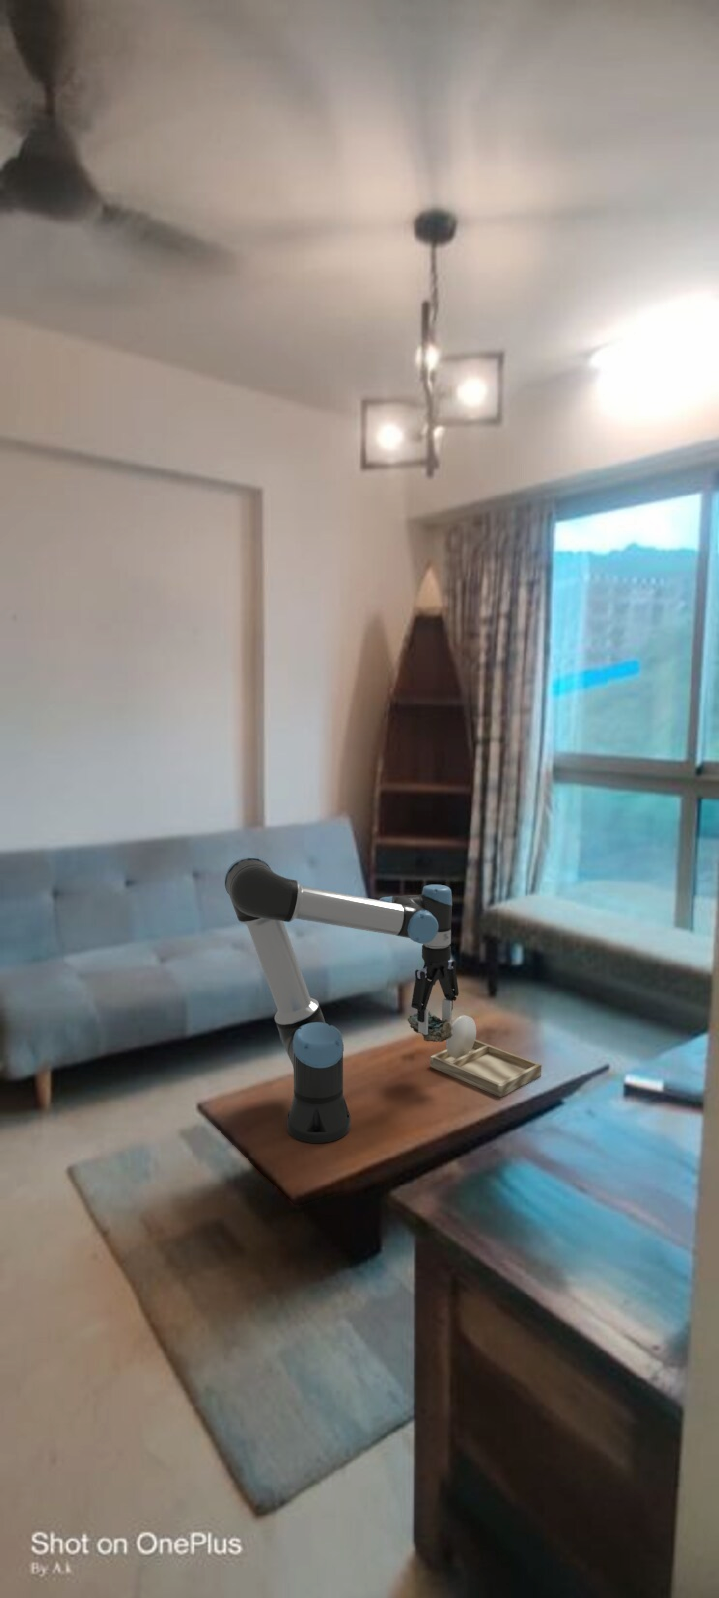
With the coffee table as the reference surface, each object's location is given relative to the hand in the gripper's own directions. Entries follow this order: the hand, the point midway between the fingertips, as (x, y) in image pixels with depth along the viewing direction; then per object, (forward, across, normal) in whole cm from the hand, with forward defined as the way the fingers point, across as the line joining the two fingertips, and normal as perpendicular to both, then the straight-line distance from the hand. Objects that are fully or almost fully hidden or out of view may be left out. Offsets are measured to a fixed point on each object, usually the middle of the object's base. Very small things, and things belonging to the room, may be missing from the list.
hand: (435, 1028), depth 208 cm
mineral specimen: (+3, 0, +1) cm, 3 cm away
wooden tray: (+15, +15, -5) cm, 22 cm away
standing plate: (+15, +15, +3) cm, 22 cm away
